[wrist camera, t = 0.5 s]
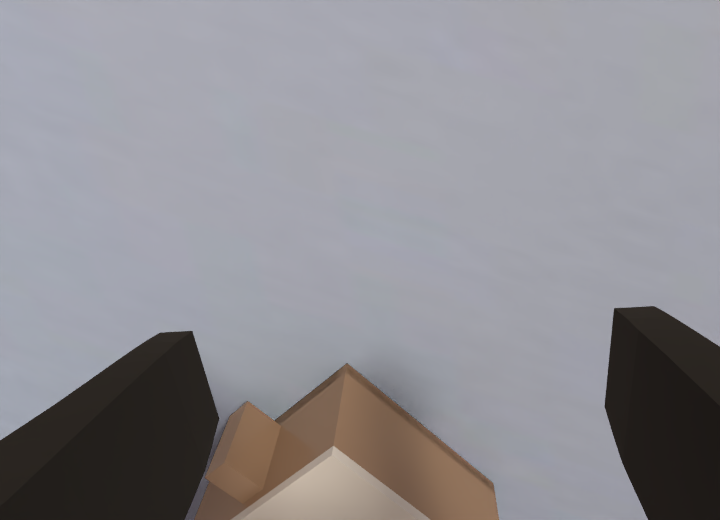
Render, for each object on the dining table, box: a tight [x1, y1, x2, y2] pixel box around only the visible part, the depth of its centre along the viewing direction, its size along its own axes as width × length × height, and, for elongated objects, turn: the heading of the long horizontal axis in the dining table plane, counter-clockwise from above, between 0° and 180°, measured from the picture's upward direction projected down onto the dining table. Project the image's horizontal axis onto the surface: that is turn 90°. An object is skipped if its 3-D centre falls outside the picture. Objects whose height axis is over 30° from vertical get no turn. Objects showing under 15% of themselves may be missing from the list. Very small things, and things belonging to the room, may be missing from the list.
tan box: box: [194, 364, 499, 520], centre depth 23 cm, size 11×9×5 cm
